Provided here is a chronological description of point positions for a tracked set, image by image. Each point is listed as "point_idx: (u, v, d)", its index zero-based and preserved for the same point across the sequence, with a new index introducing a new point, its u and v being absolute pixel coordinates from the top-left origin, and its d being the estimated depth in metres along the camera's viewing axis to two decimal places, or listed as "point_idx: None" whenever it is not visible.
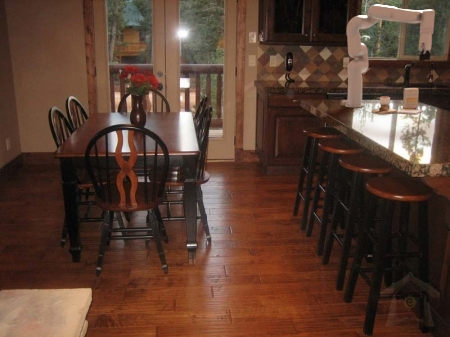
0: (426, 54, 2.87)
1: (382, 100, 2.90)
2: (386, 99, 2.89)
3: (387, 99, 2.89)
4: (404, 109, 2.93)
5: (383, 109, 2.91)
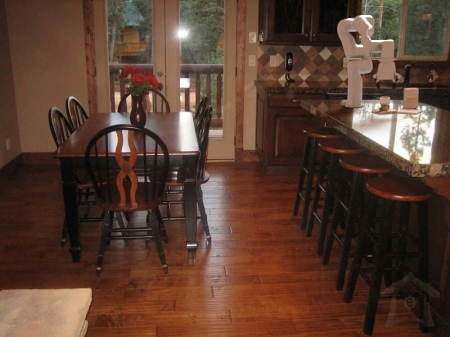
0: (379, 83, 2.91)
1: (382, 100, 2.90)
2: (386, 99, 2.89)
3: (387, 99, 2.89)
4: (404, 109, 2.93)
5: (383, 109, 2.91)
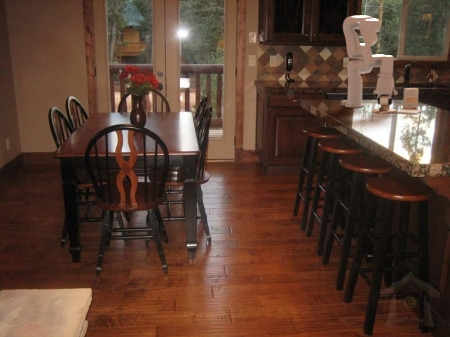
0: None
1: (382, 100, 2.90)
2: (386, 99, 2.89)
3: (387, 99, 2.89)
4: (404, 109, 2.93)
5: (383, 109, 2.91)
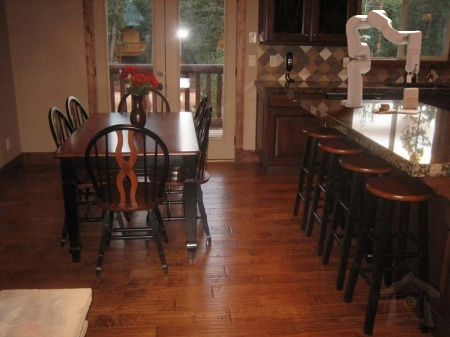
0: None
1: None
2: (409, 77, 2.80)
3: (410, 77, 2.80)
4: (404, 109, 2.93)
5: (383, 109, 2.91)
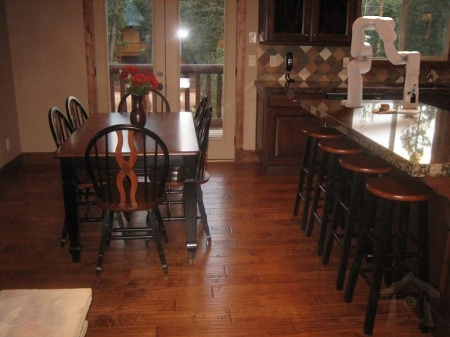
0: None
1: (406, 97, 2.86)
2: (408, 97, 2.83)
3: (409, 96, 2.83)
4: (404, 109, 2.93)
5: (383, 109, 2.91)
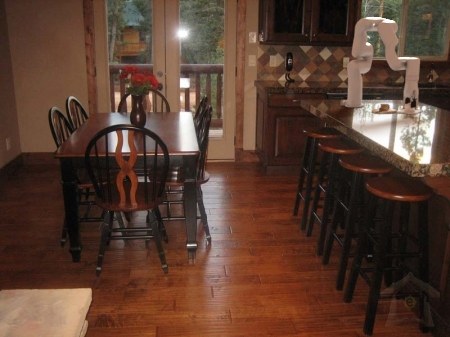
0: (407, 100, 2.90)
1: (405, 106, 2.88)
2: (407, 106, 2.85)
3: (408, 106, 2.84)
4: (404, 109, 2.93)
5: (383, 109, 2.91)
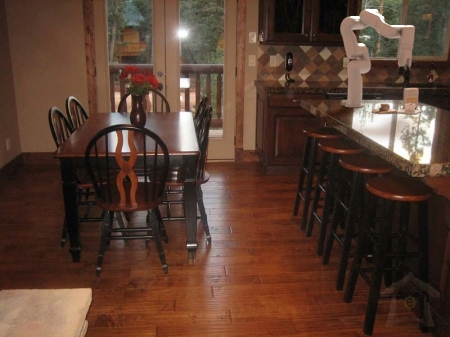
0: (400, 69, 2.89)
1: (405, 106, 2.88)
2: (407, 106, 2.85)
3: (408, 106, 2.84)
4: (404, 109, 2.93)
5: (383, 109, 2.91)
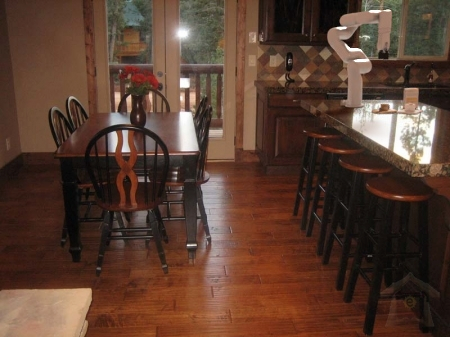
0: (380, 53, 2.96)
1: (405, 106, 2.88)
2: (407, 106, 2.85)
3: (408, 106, 2.84)
4: (404, 109, 2.93)
5: (383, 109, 2.91)
